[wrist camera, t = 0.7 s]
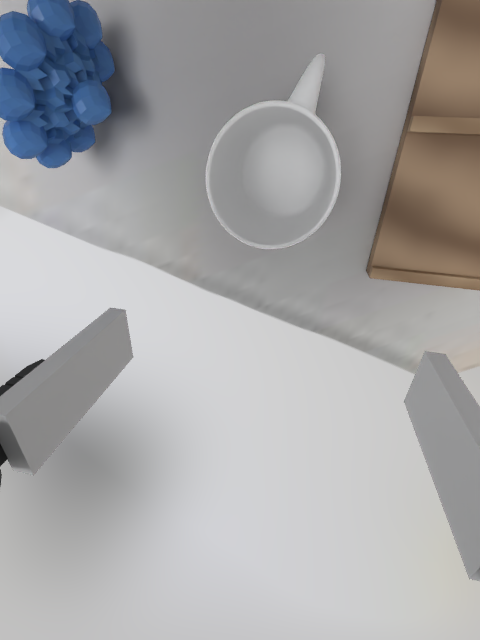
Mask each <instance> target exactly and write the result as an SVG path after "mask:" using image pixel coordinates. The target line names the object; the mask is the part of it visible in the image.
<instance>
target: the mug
mask: <svg viewBox="0 0 480 640" xmlns="http://www.w3.org/2000/svg"><path fill="white" fill-rule="evenodd" d="M324 68H325V55H324V54H322V53H319V54H317V55H316V56H315V57H314V58H313V60H312V61H311V62H310V64H309V65H308V67H307V68H306V70H305V72H304V73H303V75H302V77H301V78H300V80H299V82H298V84H297V86H296V87H295V89H294V91H293V92H292V94H291V96H290V97H289V99H288V100H287V101H281V100H270V101H264V102H259V103H256V104H253V105H251V106H249V107H247V108H245V109H243V110H241V111H240V112H238V113H237V114H236V115H234V116H233V117H232V118H231V119H230V120H229V121H228V122H227V123H226V124H225V125H224V126H223V128H222V129H221V130H220V132H219V133H218V135H217V137H216V138H215V140H214V142H213V144H212V147H211V149H210V152H209V155H208V160H207V165H206V175H205V177H206V190H207V195H208V199H209V203H210V205H211V208H212V210H213V212H214V214H215V216H216V218H217V219H218V221H219V222H220V224H221V225H222V226H223V227H224V228H225V230H226V231H227V232H228V233H230V234H231V235H232V236H233V237H235V238H236V239H238V240H239V241H241V242H243V243H245V244H247V245H249V246H252V247H256V248H261V249H281V248H286V247H290V246H293V245H295V244H297V243H300V242H302V241H303V240H305V239H306V238H308V237H310V236H311V235H312V234H313V233H314V232H316V231H317V230H318V229H319V228H320V226H321V225H322V224H323V223H324V222H325V220H326V219H327V218H328V216H329V214H330V213H331V211H332V209H333V207H334V205H335V202H336V200H337V196H338V193H339V189H340V183H341V161H340V156H339V151H338V148H337V145H336V142H335V140H334V138H333V136H332V134H331V132H330V130H329V129H328V128H327V126H326V125H325V124H324V122H323V121H322V120H321V119H320V118H319V117H318V116H317V115H315V114H316V108H317V102H318V98H319V93H320V88H321V83H322V78H323V73H324Z"/></svg>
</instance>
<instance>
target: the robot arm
mask: <svg viewBox="0 0 480 640" xmlns="http://www.w3.org/2000/svg"><path fill="white" fill-rule="evenodd" d="M132 358H133V353H132V347H131V341H130V336H129V329H128V323H127V317H126V310H123V309H116V308H110V309H108V310H107V311H106V312H105V313H103V314H102V315H101V316H100V317H99V318H97V319H96V320H95V321H93V322H92V323H91V324H90V325H88V326H87V327H86V328H85V329H83V330H82V331H81V332H80V333H79V334H77V335H76V336H75V337H73V338H72V339H71V340H70V341H68V342H67V343H66V344H65V345H63V346H62V347H61V348H60V349H58V350H57V351H56V352H55V353H54V354H52V355H51V356H50V357H49V358H47V359H46V360H43V359H41V360H39V361H37V362H35V363H33V364H31V365H29V366H27V367H26V368H24V369H23V370H22V371H20V372H19V373H18V374H16V375H15V377H13V378H11V379H10V380H9V381H7V382H6V384H5V385H2V386H1V387H0V466H1V465H2V464H3V463H4V462H5V461H6V460H7V459H8V461H9V463H10V465H11V467H12V469H13V470H14V471H18V472H22V473H26V474H30V475H34V474H35V473H36V472H37V471H38V469H39V468H40V467H41V466H42V465H43V464H44V462H45V461H46V460H47V459H48V458H49V456H50V455H51V454H52V453H53V452H54V450H55V449H56V448H57V447H58V445H60V443H61V442H62V441H63V440H64V439H65V437H66V436H67V435H68V434H69V433H70V431H71V430H72V429H73V428H74V427H75V425H76V424H77V423H78V422H79V421H80V419H81V418H82V417H83V416H84V415H85V414H86V413H87V411H88V410H89V409H90V408H91V407H92V405H93V404H94V403H95V402H96V401H97V399H98V398H99V397H100V396H101V395H102V394H103V392H104V391H105V390H106V389H107V388H108V386H109V385H110V384H111V383H112V382H113V380H114V379H115V378H116V377H117V376H118V374H119V373H120V372H121V371H122V370H123V369H124V367H125V366H126V365H127V364H128V363H129V361H130V360H131V359H132ZM404 403H405V405H406V408H407V411H408V413H409V416H410V419H411V422H412V424H413V427H414V430H415V433H416V435H417V438H418V441H419V443H420V446H421V449H422V452H423V454H424V457H425V460H426V462H427V465H428V468H429V471H430V473H431V476H432V479H433V482H434V484H435V487H436V490H437V492H438V495H439V498H440V500H441V503H442V506H443V509H444V511H445V514H446V517H447V520H448V522H449V525H450V527H451V530H452V533H453V536H454V539H455V541H456V544H457V546H458V549H459V552H460V555H461V558H462V560H463V563H464V566H465V568H466V571H467V574H468V576H469V579H472V580H477V581H480V407H479V405H478V404H477V402H476V400H475V399H474V398H473V396H472V394H471V393H470V391H469V390H468V388H467V387H466V385H465V384H464V382H463V381H462V379H461V377H459V374H458V373H457V371H456V370H455V368H454V367H453V365H452V364H451V362H450V361H449V359H448V357H447V356H446V354H440V353H433V352H426V351H425V352H424V355H423V357H422V360H421V362H420V364H419V367H418V369H417V372H416V374H415V376H414V379H413V381H412V384H411V386H410V388H409V391H408V393H407V395H406V398H405V400H404ZM1 475H2V474H1V470H0V485H1Z"/></svg>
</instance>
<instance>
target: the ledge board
mask: <svg viewBox="0 0 480 640" xmlns="http://www.w3.org/2000/svg"><path fill="white" fill-rule="evenodd" d="M366 271H367V273H368V275H369V277H370V278H374V279H383V280H392V281H401V282H409V283H418V284H427V285H436V286H445V287H454V288H463V289H472V290H480V0H437V2H436V5H435V9H434V13H433V17H432V21H431V25H430V28H429V32H428V36H427V40H426V44H425V47H424V51H423V55H422V59H421V63H420V67H419V70H418V74H417V78H416V82H415V86H414V90H413V93H412V97H411V101H410V105H409V109H408V113H407V116H406V120H405V124H404V128H403V132H402V135H401V139H400V143H399V147H398V151H397V155H396V158H395V162H394V166H393V170H392V174H391V178H390V181H389V185H388V189H387V193H386V197H385V201H384V204H383V208H382V212H381V216H380V220H379V224H378V227H377V231H376V235H375V239H374V243H373V246H372V250H371V254H370V258H369V262H368V266H367V269H366Z"/></svg>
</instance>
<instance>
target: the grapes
mask: <svg viewBox="0 0 480 640" xmlns="http://www.w3.org/2000/svg"><path fill="white" fill-rule="evenodd" d="M27 11H28V16H29V17H28V16H27V15H26V14H22V13H18V12H14V11H12V12H9V13H6V14H4V15H1V17H0V56H1V58H2V59H3V61H4V62H6V63H7V64H8V65H10V66H11V67H12V68H14V69H15V70H14V69H8V68H0V117H1V118H2V119H4V120H7V122H6V123H5V124H4V127H3V133H2V135H3V139H4V143H5V145H6V147H7V148H8V149H9V151H10V152H11V153H12V154H13V155H15V156H17V157H19V158H21V159H32V158H34V157H36V158H37V160H38V161H39V163H40V164H42V165H44V166H45V167H47V168H58V167H60V166H62V165H64V164H66V163H67V162H68V161H69V160H70V159H71V157H72V152H83V151H85V150H87V149H89V148H90V147H91V146H92V145H93V144H94V143H95V134H94V129H93V127H92V125H96V124H98V123H100V122H103V121H104V120H105V119H106V118H107V117H108V116H109V115H110V114H111V112H112V111H111V103H110V97H109V95H108V93H107V91H106V89H105V88H104V87H103V86H102V82H104V81H107V80H108V79H109V78H110V77H111V76H112V74H113V73H114V71H115V68H114V62H113V57H112V55H111V53H110V50H109V48H108V47H107V46H106V45H105V44H104V43H103V42H102V41H101V39H102V28H101V23H100V20H99V18H98V16H97V13H96V11H95V10H94V9H93V8H92V7H91V6H90V5H89V4H88V3H86V2H83V1H80V0H76V1H73V2H71V3H69V1H68V0H28V4H27Z"/></svg>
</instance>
